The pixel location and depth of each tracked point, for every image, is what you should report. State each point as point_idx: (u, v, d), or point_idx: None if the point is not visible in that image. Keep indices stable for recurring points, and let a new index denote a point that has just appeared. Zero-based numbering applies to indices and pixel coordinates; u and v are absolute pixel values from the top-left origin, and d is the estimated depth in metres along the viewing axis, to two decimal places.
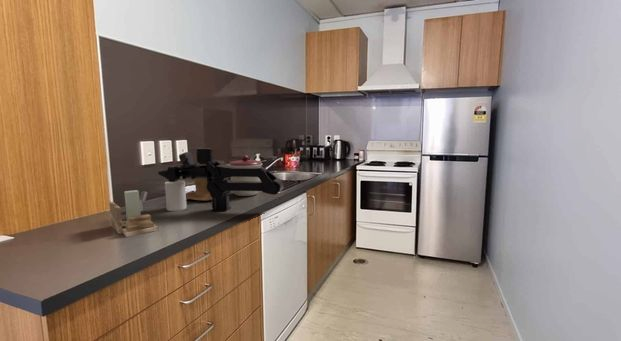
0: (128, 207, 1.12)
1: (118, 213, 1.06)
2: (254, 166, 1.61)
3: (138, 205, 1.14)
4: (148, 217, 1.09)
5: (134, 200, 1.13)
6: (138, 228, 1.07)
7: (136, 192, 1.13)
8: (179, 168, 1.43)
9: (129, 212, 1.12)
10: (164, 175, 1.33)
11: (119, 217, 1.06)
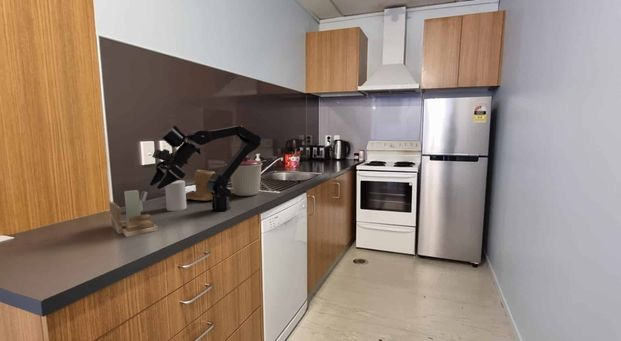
0: (128, 207, 1.12)
1: (118, 213, 1.06)
2: (254, 166, 1.61)
3: (138, 205, 1.14)
4: (148, 217, 1.09)
5: (134, 200, 1.13)
6: (138, 228, 1.07)
7: (136, 192, 1.13)
8: (156, 175, 1.23)
9: (129, 212, 1.12)
10: (167, 182, 1.16)
11: (119, 217, 1.06)
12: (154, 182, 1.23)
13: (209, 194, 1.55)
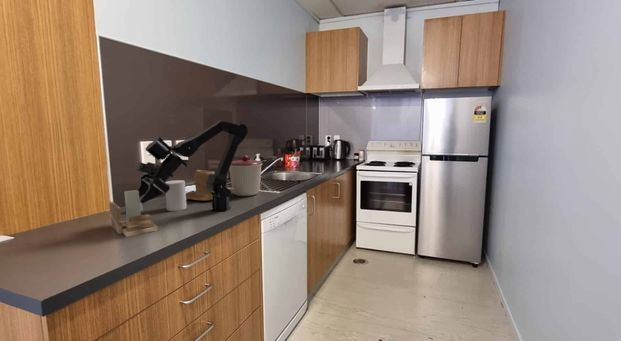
0: (128, 207, 1.12)
1: (118, 213, 1.06)
2: (254, 166, 1.61)
3: (138, 205, 1.14)
4: (148, 217, 1.09)
5: (134, 200, 1.13)
6: (138, 228, 1.07)
7: (136, 192, 1.13)
8: (140, 188, 1.20)
9: (129, 212, 1.12)
10: (151, 197, 1.13)
11: (119, 217, 1.06)
12: None
13: (209, 194, 1.55)
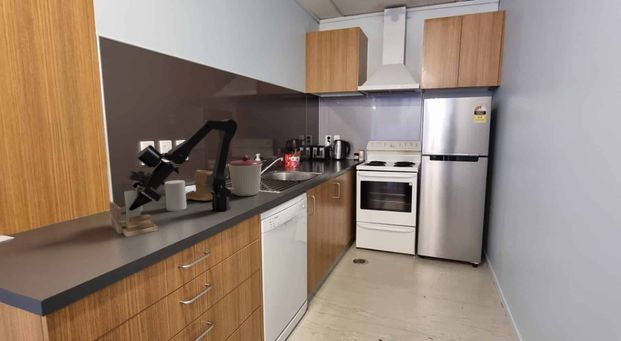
0: (128, 207, 1.12)
1: (118, 213, 1.06)
2: (254, 166, 1.61)
3: None
4: (148, 217, 1.09)
5: None
6: (138, 228, 1.07)
7: (136, 192, 1.13)
8: None
9: (129, 212, 1.12)
10: (139, 204, 1.13)
11: (119, 217, 1.06)
12: None
13: (209, 194, 1.55)
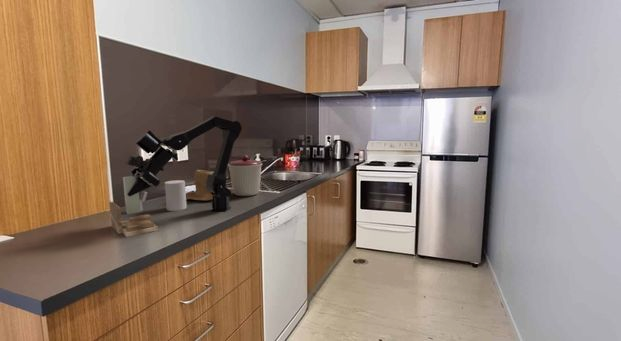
0: (127, 192, 1.11)
1: (118, 213, 1.06)
2: (254, 166, 1.61)
3: None
4: (148, 217, 1.09)
5: (132, 186, 1.12)
6: (138, 228, 1.07)
7: (135, 177, 1.13)
8: None
9: (128, 198, 1.12)
10: (138, 189, 1.12)
11: (119, 217, 1.06)
12: None
13: (209, 194, 1.55)
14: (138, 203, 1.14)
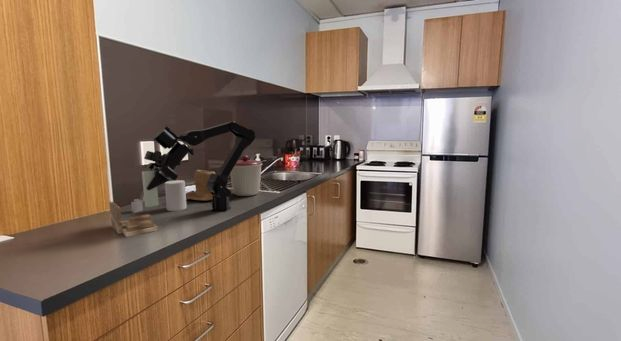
0: (146, 186, 1.15)
1: (118, 213, 1.06)
2: (254, 166, 1.61)
3: None
4: (148, 217, 1.09)
5: (151, 180, 1.16)
6: (138, 228, 1.07)
7: (153, 172, 1.17)
8: None
9: (147, 191, 1.16)
10: (157, 183, 1.16)
11: (119, 217, 1.06)
12: None
13: (209, 194, 1.55)
14: (156, 197, 1.18)
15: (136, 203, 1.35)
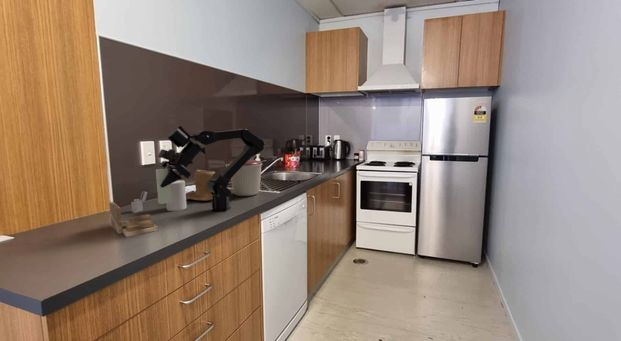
0: (160, 184, 1.19)
1: (118, 213, 1.06)
2: (254, 166, 1.61)
3: None
4: (148, 217, 1.09)
5: None
6: (138, 228, 1.07)
7: (167, 170, 1.20)
8: None
9: (160, 189, 1.19)
10: (170, 181, 1.20)
11: (119, 217, 1.06)
12: None
13: (209, 194, 1.55)
14: (170, 194, 1.21)
15: (136, 203, 1.35)
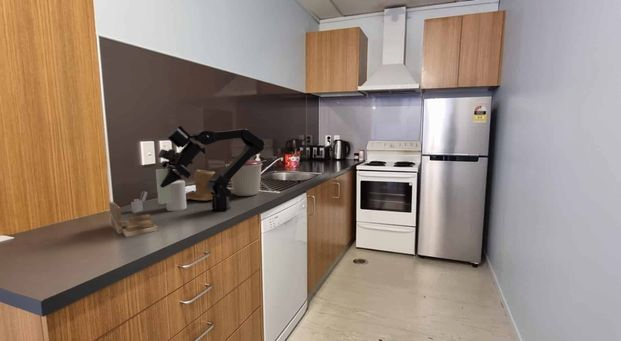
0: (160, 184, 1.19)
1: (118, 213, 1.06)
2: (254, 166, 1.61)
3: None
4: (148, 217, 1.09)
5: None
6: (138, 228, 1.07)
7: (167, 170, 1.20)
8: None
9: (160, 189, 1.19)
10: (170, 181, 1.20)
11: (119, 217, 1.06)
12: None
13: (209, 194, 1.55)
14: (170, 194, 1.21)
15: (136, 203, 1.35)
